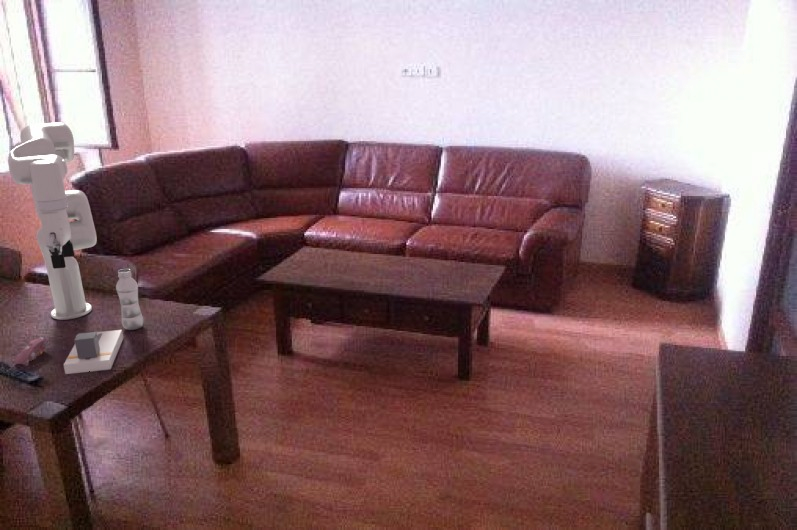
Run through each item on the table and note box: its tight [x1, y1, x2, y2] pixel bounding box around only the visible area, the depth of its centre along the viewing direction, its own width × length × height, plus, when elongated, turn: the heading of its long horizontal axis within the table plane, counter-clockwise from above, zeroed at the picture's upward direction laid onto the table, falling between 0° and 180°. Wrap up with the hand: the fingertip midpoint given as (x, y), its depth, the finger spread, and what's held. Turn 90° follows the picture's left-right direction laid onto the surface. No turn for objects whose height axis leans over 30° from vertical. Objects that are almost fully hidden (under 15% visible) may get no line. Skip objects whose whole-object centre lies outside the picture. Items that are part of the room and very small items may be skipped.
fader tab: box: [74, 331, 100, 359], centre depth 184 cm, size 4×5×6 cm
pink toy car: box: [14, 336, 51, 365], centre depth 190 cm, size 10×5×7 cm, turn 171°
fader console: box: [63, 329, 124, 375], centre depth 191 cm, size 20×12×3 cm, turn 12°
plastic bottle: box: [115, 268, 144, 331], centre depth 205 cm, size 6×7×20 cm
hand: (64, 262), depth 186 cm, fingers open, 9 cm apart
